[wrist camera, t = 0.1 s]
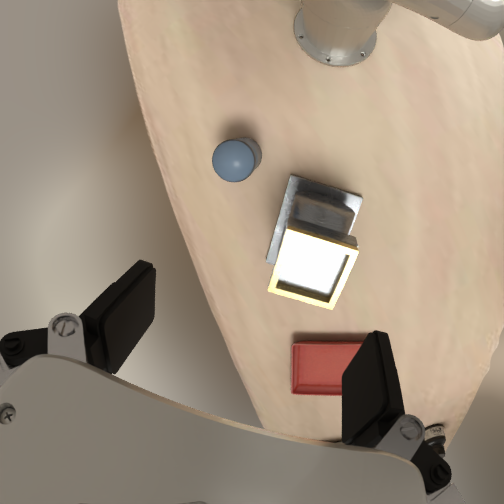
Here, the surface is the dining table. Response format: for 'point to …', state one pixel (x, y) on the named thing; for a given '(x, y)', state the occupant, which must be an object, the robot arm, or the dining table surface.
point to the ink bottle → (435, 438)
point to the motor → (313, 242)
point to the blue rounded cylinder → (236, 159)
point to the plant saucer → (320, 366)
